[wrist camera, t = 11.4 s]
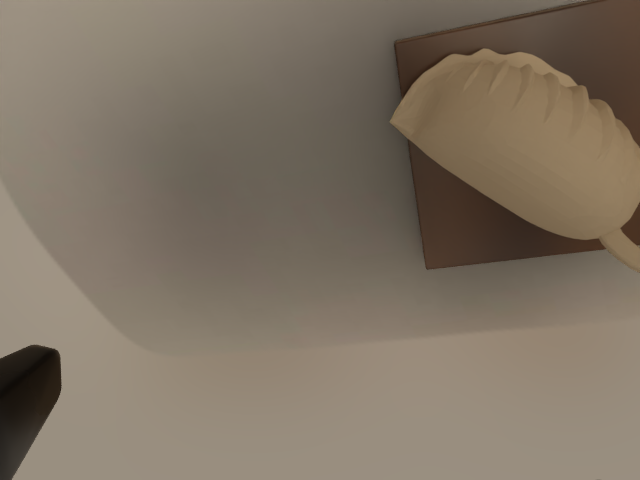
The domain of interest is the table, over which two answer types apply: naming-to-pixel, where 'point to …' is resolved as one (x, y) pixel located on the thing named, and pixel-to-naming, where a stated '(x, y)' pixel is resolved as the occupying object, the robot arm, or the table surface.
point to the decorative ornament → (529, 144)
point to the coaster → (564, 56)
